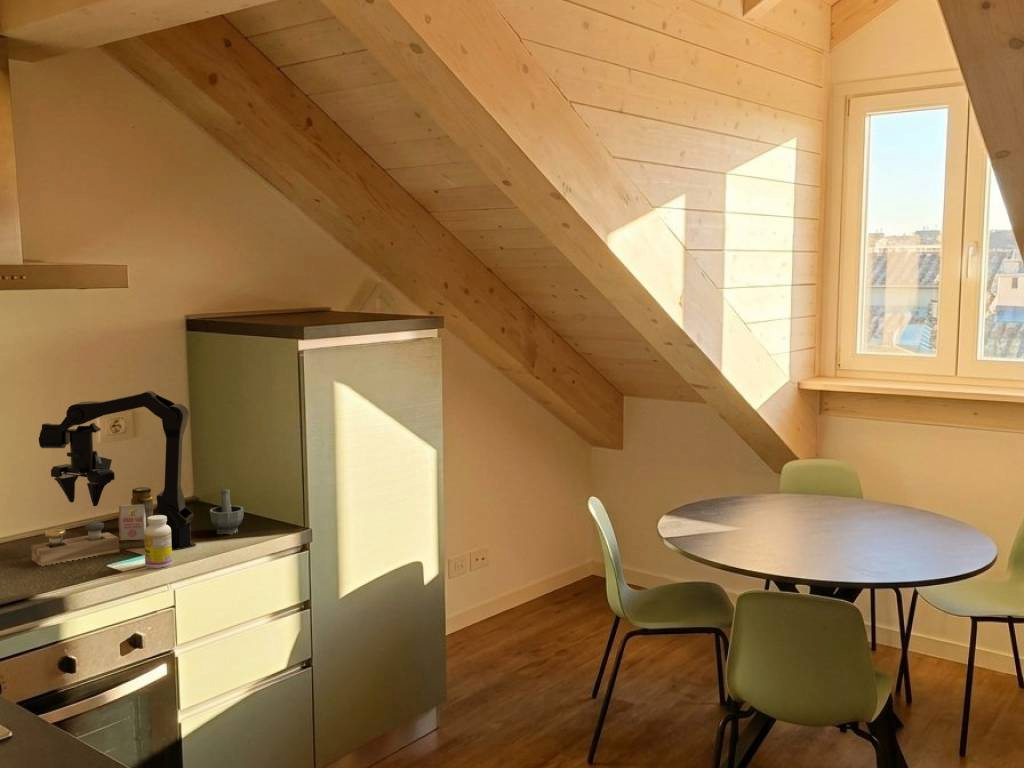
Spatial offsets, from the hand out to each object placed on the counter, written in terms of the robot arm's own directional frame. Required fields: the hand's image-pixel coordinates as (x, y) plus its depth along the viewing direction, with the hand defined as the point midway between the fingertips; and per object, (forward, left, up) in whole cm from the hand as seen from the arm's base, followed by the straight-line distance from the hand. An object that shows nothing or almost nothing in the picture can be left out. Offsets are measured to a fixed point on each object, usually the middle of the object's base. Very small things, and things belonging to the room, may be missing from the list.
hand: (83, 504), depth 268 cm
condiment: (+10, -20, -13) cm, 26 cm away
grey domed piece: (-7, 0, -9) cm, 11 cm away
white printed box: (0, -13, -13) cm, 18 cm away
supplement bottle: (-30, -8, -13) cm, 33 cm away
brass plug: (-7, +10, -9) cm, 15 cm away
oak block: (-7, +5, -12) cm, 15 cm away
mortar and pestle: (-10, -37, -13) cm, 41 cm away
